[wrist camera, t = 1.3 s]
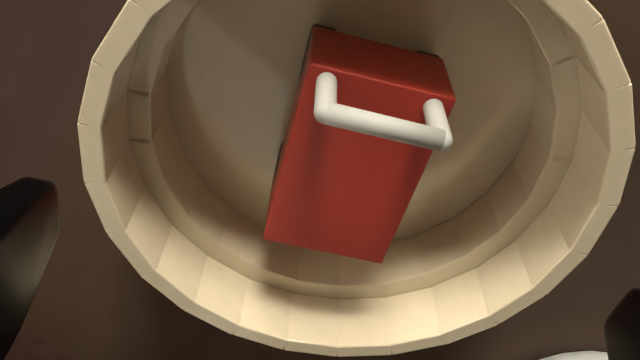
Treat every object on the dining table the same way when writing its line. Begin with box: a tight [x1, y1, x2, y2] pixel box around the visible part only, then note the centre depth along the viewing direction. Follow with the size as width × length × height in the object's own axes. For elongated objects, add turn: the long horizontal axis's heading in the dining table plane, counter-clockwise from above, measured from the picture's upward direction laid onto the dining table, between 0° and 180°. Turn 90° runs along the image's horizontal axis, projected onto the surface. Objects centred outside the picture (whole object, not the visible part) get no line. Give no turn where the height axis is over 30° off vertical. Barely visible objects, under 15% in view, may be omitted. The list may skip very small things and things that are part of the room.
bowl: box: [77, 0, 636, 357], centre depth 20 cm, size 16×16×6 cm
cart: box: [263, 24, 456, 263], centre depth 19 cm, size 7×4×6 cm, turn 166°
